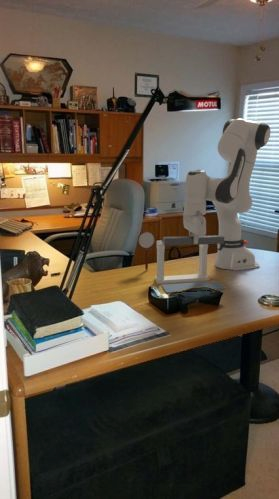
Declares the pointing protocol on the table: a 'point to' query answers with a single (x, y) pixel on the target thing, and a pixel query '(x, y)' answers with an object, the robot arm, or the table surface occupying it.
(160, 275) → the frame
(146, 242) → the magnifying glass
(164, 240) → the rail
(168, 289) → the mat
